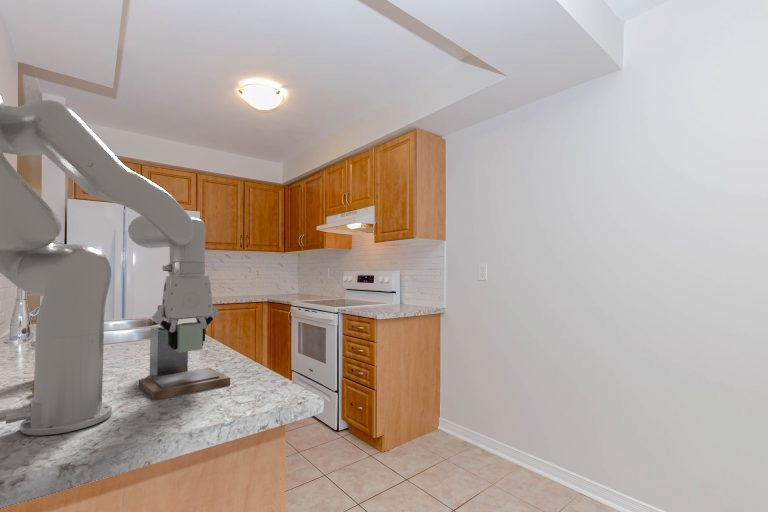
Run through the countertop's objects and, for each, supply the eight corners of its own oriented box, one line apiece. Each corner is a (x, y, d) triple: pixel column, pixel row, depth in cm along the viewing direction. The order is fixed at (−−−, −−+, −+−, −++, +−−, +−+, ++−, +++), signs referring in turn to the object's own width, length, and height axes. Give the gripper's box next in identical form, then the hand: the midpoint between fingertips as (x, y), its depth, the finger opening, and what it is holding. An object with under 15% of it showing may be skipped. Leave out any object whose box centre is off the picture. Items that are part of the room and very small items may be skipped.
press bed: (153, 400, 80) (153, 390, 80) (138, 386, 89) (138, 378, 89) (230, 384, 91) (230, 375, 91) (209, 373, 100) (209, 366, 101)
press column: (157, 380, 95) (158, 331, 95) (149, 374, 100) (150, 328, 100) (187, 374, 100) (188, 328, 100) (178, 370, 105) (179, 325, 105)
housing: (179, 352, 87) (179, 325, 87) (171, 348, 91) (171, 322, 92) (202, 349, 91) (202, 323, 91) (193, 345, 95) (193, 320, 95)
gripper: (150, 270, 83) (150, 355, 82) (229, 269, 95) (229, 343, 94) (142, 270, 88) (141, 350, 88) (217, 269, 100) (217, 339, 100)
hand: (187, 345), depth 91 cm, fingers closed on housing, 5 cm apart
